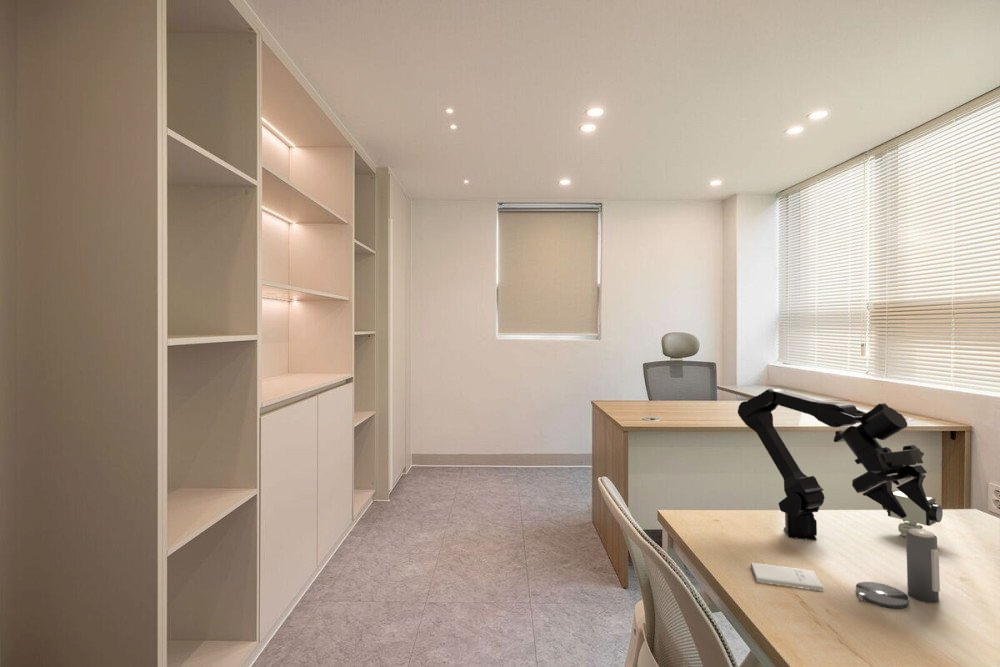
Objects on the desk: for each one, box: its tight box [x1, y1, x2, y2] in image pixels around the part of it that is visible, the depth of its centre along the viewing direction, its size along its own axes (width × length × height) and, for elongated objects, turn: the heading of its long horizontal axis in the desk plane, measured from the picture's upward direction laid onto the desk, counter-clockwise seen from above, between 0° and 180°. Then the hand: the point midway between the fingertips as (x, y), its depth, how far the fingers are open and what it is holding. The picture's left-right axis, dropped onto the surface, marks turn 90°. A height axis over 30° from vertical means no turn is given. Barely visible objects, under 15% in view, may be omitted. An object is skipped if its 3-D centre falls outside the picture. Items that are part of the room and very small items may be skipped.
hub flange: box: [855, 581, 910, 610], centre depth 100 cm, size 9×8×1 cm
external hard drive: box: [750, 562, 824, 592], centre depth 108 cm, size 2×8×12 cm
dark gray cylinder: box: [905, 528, 941, 604], centre depth 100 cm, size 5×5×13 cm
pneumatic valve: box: [881, 490, 944, 538], centre depth 131 cm, size 6×12×12 cm, turn 32°
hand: (917, 514), depth 108 cm, fingers open, 9 cm apart
